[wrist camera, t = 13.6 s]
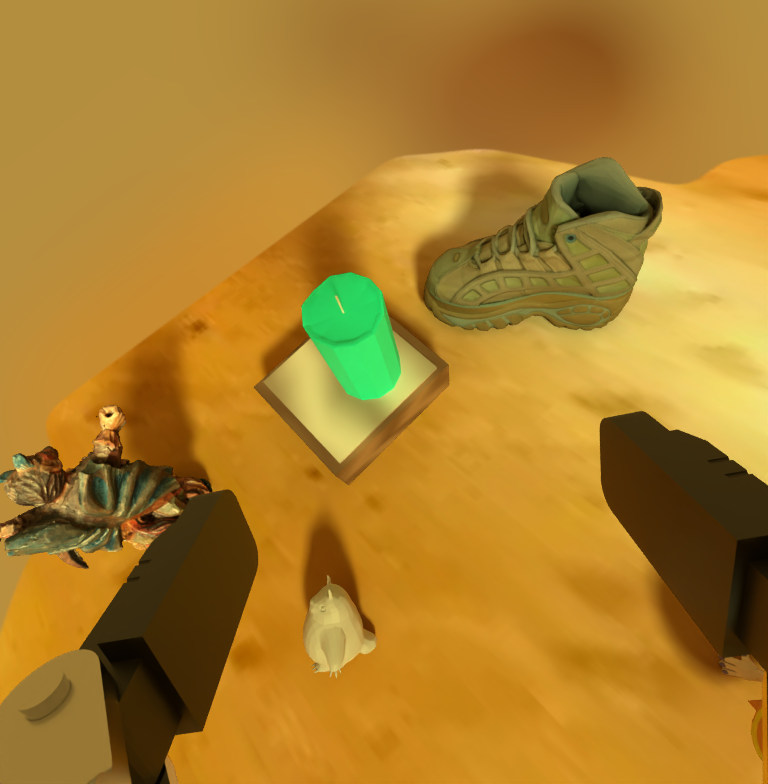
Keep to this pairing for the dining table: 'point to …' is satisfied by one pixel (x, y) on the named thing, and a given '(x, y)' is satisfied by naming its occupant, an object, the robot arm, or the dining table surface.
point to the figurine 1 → (92, 499)
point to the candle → (353, 334)
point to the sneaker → (553, 256)
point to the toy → (751, 672)
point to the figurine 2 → (334, 630)
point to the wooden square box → (352, 403)
